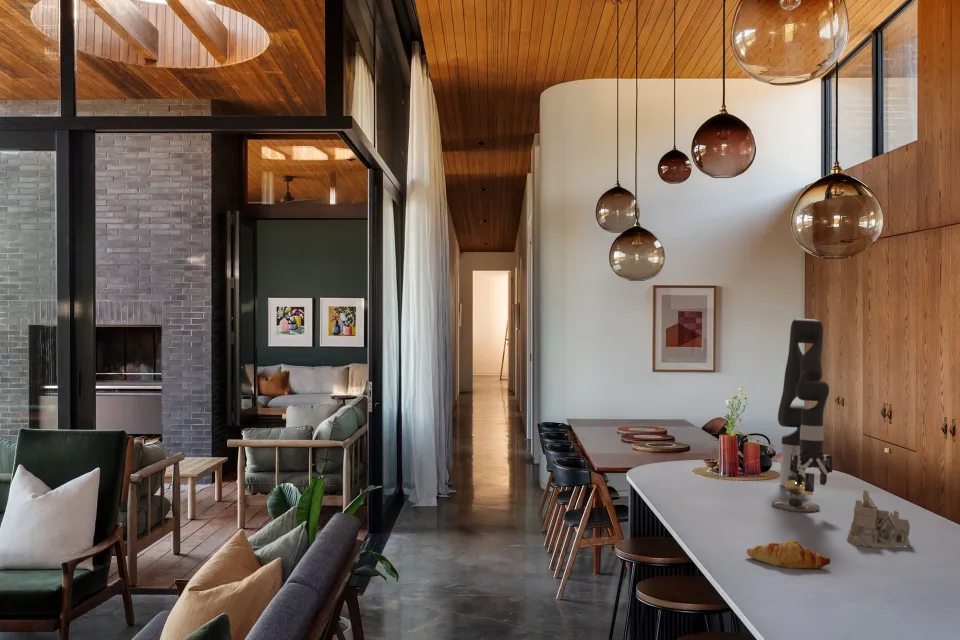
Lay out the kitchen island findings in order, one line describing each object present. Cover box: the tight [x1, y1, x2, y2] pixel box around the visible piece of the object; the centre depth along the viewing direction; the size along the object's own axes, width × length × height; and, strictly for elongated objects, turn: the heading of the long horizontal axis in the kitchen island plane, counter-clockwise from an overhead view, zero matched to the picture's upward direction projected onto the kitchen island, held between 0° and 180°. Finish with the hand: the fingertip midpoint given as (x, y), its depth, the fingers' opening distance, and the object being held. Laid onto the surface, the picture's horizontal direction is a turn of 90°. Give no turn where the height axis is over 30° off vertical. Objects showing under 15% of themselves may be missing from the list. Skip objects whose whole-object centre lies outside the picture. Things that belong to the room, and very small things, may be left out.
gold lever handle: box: [784, 472, 815, 496], centre depth 269 cm, size 15×7×8 cm, turn 3°
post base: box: [771, 490, 821, 513], centre depth 273 cm, size 16×16×6 cm
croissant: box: [746, 539, 831, 569], centre depth 207 cm, size 21×10×8 cm, turn 66°
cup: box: [788, 475, 805, 499], centre depth 288 cm, size 8×7×8 cm
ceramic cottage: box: [846, 489, 911, 548], centre depth 230 cm, size 16×16×15 cm
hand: (810, 484), depth 263 cm, fingers open, 8 cm apart
